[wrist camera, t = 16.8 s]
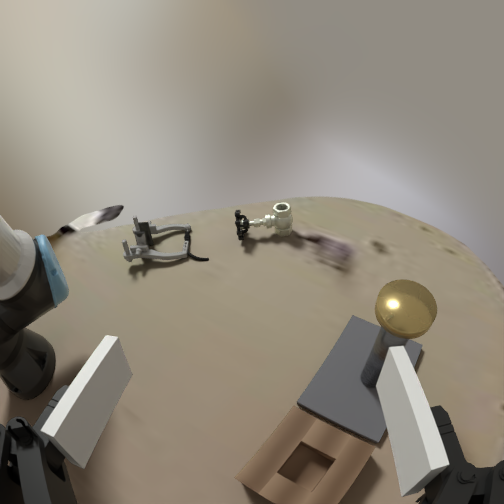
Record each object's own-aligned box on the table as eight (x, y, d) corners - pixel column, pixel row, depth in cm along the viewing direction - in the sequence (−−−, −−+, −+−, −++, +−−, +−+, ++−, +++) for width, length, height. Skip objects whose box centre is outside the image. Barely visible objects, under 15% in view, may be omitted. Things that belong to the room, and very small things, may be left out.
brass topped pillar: (343, 385, 36) (367, 315, 24) (362, 351, 39) (389, 271, 28) (381, 403, 32) (428, 341, 21) (399, 367, 36) (442, 292, 25)
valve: (291, 221, 67) (239, 228, 68) (289, 197, 62) (235, 204, 63) (295, 240, 62) (239, 246, 63) (294, 214, 57) (234, 222, 58)
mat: (296, 403, 36) (296, 401, 35) (351, 318, 45) (352, 315, 44) (376, 443, 29) (378, 442, 28) (420, 348, 38) (422, 344, 38)
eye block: (240, 479, 28) (234, 477, 26) (293, 413, 35) (293, 405, 32) (316, 523, 22) (319, 526, 19) (368, 451, 29) (375, 446, 26)
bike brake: (122, 269, 61) (209, 268, 62) (114, 246, 57) (206, 243, 58) (136, 233, 71) (212, 230, 72) (131, 211, 67) (210, 207, 68)
